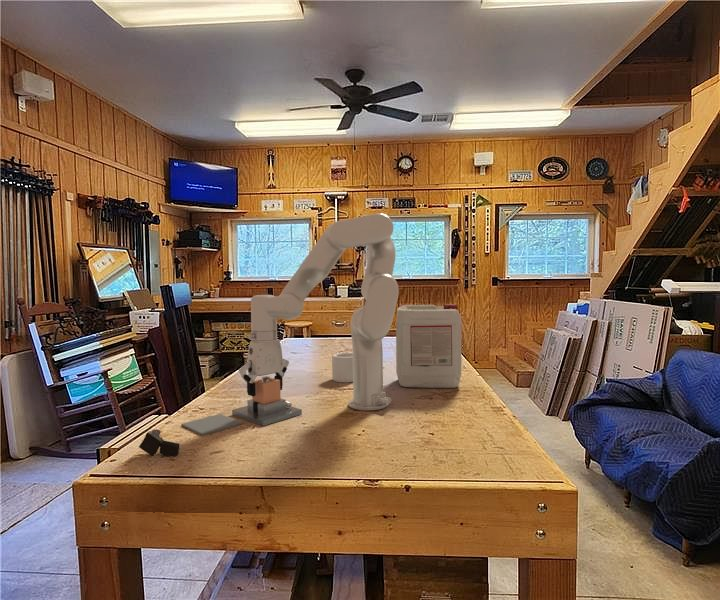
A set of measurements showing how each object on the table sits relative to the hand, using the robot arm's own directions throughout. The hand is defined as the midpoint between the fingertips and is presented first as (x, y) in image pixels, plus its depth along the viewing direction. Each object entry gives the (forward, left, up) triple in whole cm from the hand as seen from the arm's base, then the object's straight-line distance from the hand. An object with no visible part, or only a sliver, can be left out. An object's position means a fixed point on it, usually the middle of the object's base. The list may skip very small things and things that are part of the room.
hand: (265, 392), depth 140 cm
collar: (0, 0, -2) cm, 2 cm away
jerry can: (-15, -63, -7) cm, 65 cm away
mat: (+4, +16, -7) cm, 18 cm away
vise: (0, 0, -7) cm, 7 cm away
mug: (+14, -48, -7) cm, 51 cm away
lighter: (-6, +35, -7) cm, 36 cm away
